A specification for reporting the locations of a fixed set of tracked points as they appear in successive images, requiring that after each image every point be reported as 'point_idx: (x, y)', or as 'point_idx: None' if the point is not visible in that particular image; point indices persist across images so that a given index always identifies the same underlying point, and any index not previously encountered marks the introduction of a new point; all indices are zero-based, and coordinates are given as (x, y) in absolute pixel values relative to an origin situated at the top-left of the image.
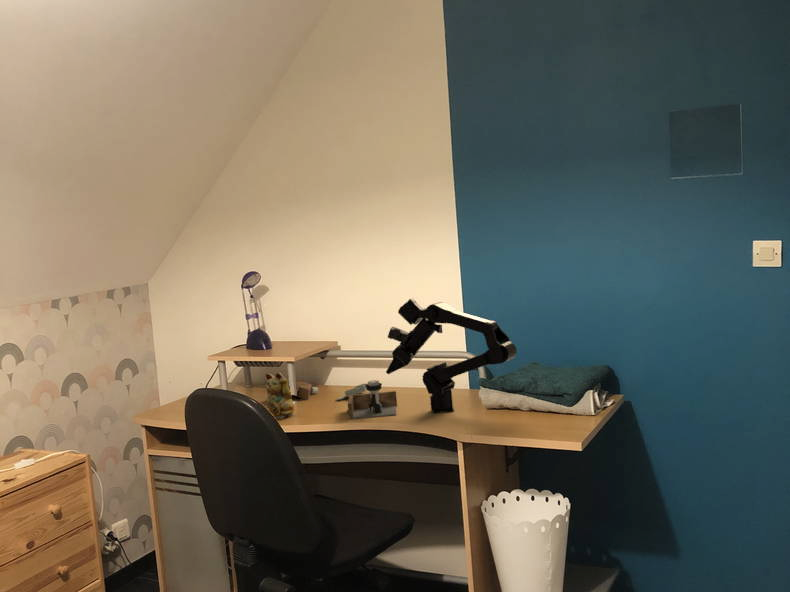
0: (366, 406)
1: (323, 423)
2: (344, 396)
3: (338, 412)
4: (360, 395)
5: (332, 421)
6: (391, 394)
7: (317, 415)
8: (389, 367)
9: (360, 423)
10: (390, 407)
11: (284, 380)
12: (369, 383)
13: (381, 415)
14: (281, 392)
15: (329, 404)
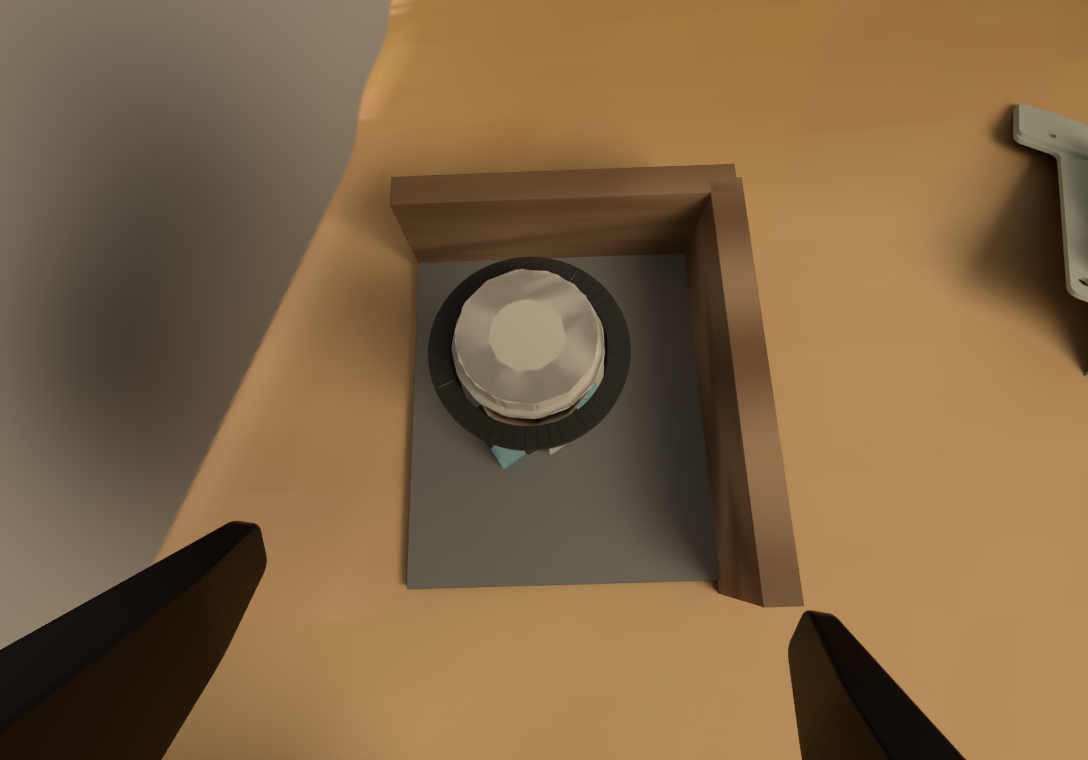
0: (696, 337)
1: (385, 104)
2: (1078, 153)
3: (650, 162)
4: (717, 257)
5: (413, 149)
6: (748, 552)
7: (609, 50)
8: (97, 613)
9: (277, 325)
10: (651, 534)
11: None
12: (479, 294)
13: (411, 466)
14: None
15: (908, 85)
